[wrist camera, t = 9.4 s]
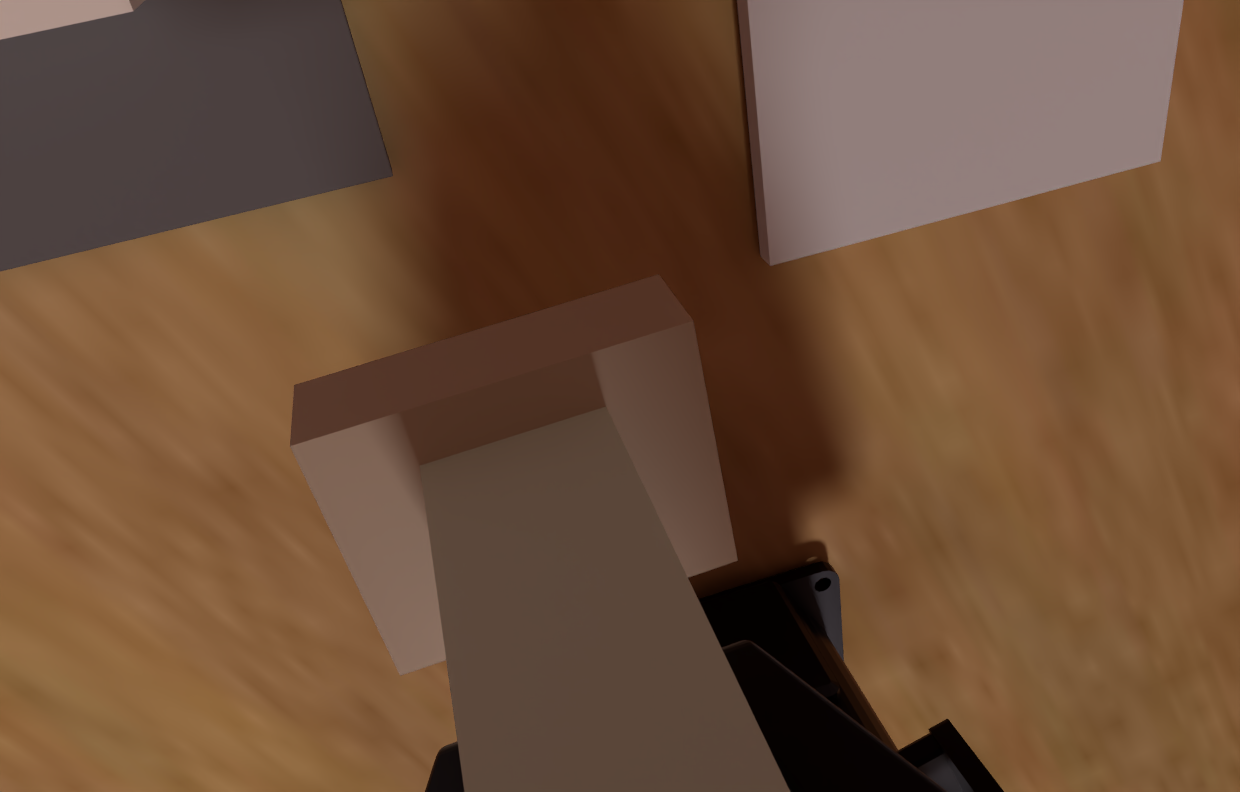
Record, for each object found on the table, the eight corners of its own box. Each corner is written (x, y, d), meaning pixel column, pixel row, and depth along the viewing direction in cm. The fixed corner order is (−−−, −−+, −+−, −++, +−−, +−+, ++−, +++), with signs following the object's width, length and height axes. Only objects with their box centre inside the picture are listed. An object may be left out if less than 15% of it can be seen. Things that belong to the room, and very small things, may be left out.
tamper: (704, 500, 15) (1214, 1411, 6) (394, 604, 15) (486, 1754, 6) (659, 274, 13) (1329, 1175, 4) (293, 385, 13) (204, 1670, 4)
